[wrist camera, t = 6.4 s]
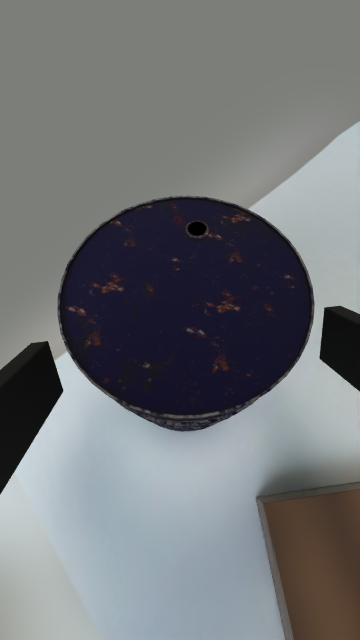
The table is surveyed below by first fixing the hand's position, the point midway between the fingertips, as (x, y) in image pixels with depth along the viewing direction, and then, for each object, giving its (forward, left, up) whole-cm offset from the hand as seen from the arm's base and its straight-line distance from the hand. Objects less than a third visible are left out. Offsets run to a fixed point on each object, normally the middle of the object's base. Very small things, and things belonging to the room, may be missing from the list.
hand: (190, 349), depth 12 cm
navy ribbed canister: (0, +2, -12) cm, 12 cm away
